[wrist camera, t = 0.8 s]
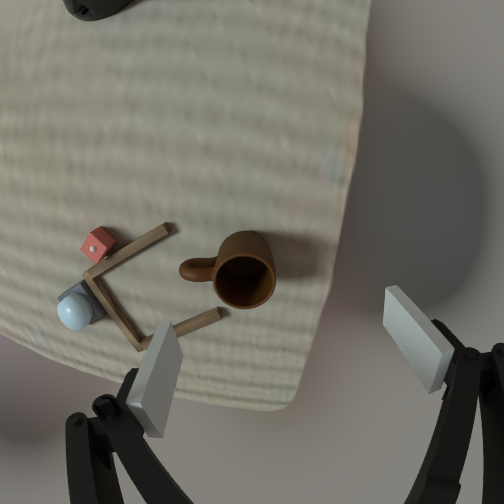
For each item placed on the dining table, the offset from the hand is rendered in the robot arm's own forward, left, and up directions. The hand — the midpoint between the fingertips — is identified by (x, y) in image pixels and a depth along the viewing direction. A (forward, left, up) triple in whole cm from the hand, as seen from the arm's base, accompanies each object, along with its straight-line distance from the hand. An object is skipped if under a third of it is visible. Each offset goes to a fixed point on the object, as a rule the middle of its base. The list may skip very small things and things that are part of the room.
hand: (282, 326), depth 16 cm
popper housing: (-2, -34, -26) cm, 43 cm away
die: (-9, -23, -26) cm, 36 cm away
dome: (-2, -34, -23) cm, 42 cm away
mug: (+2, -6, -26) cm, 27 cm away
